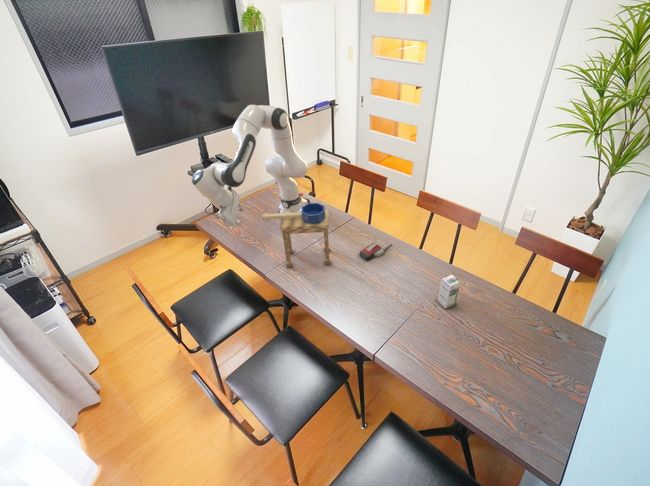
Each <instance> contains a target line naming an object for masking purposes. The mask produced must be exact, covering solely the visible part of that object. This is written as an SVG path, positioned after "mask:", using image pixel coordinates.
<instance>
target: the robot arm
mask: <svg viewBox="0 0 650 486" xmlns="http://www.w3.org/2000/svg"><path fill="white" fill-rule="evenodd" d="M289 118H290V117H289V114H288V112H287V110H285V109H283V108H281V107H276V106H273V105H264V104H248V105H247V106H246V107H245V108H244V109H243V110H242V111H241V113H240V114H239V116H238V117H237V119H236V121H235V122H234V124H233V126H232V130H231V133H232V136H233V139H234V140H235V141H236V142H237V143H238V144H239V147H238V150H237V152H236V154H235V157H234V158H233V160H232V161H231V162H228V163H227V162H220V161H216V162H213V163H211V164H210V165H209V166H207V167H206V168H203V169H198V170H196V171H195V173H193V175H192V178H191V183H192V186H193V187H194V188H195V189H196V190H197V192H198V193H200V194H201V195H202V196H203V197H204V198H206V199H207V201H208V202H210V204H212V205H213V206H214V208H216V209H218V210H219V211H218V217H219V219H220V220H221V222H222V223H223V224H224V225H225V226H226V227H227V228H231V227H233V226H238V227H239V226H241V225H242V222H241V220H238V219H237V216H238V211H239V212H243V211H244V207H243V206H242V204H241V202H240V196H241V195H240V194H239V192H238V191H236V190H235V189H234V188H238V187H240V186H241V185H243V183H244V181H245V179H246V175H247V169H248V166H249V164H250V161H251V159H252V157H253V154H254V152H255V148H256V145H257V137H258V136H259V134H260V131H261V129H266V130H267V129H268V130H270V137H271V144H272V150H273V151H274V152H275V153H276V154H277V155H279V156H277V155H276V156H269V157H268V158H267V159H266V160H265V162H264V169H265V171H266V172H267V173H268V174H269V175H270V176H271V177H272V178H273V179H274V181H275V182H276V183H277V186H278V189H279V193H280V198H279V200H280V202H279V203H280V205H279V206H278V208H279V209H280V210H279V213H282V212H286V211H301V210H302V207H303V206H304V205H306V204H308V203H311V200H310V199H308V198H306V197H303V195H304V193H303V192H299V184H298V183H297V181H296V180H295V179H302V178H305V177H306V175H307V173H308V169H309V167H308V164H307V162H306V161H305V160H303V158H301V157H300V156H299V155H298V153H297V151H296V149H295V146H294V142H293V136H292V129H291V125H290V119H289Z"/></svg>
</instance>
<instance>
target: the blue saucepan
mask: <svg viewBox="0 0 650 486" xmlns="http://www.w3.org/2000/svg"><path fill="white" fill-rule="evenodd" d="M325 209H326V207H325V205H324V204H321V203H320V202H310V203H308V204H306V205H304V206H303V207H302V210H301V212H294V213H280V212H279V213H278V212H277V213H276V212H275V213H263V214H262V218H261V219H262V220H281V219H282V218H301V217H302V219H303V220H304V221H305V222H306V223H309V224H316V223H320V222H322V221H323V220H324V219H325Z"/></svg>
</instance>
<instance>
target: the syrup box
mask: <svg viewBox="0 0 650 486" xmlns="http://www.w3.org/2000/svg"><path fill="white" fill-rule="evenodd" d="M460 285H461V281H460V280H459V279H458V278H457V277H456V276H454V275H453V274H450V275H448V276H445V277H443V278H441V282H440V285H439V291H438V296H437V302H438V303H439V304H440V305H441V306H442V307H443V308H444V309H447V308H450V307H453V306H454V305H456V301H457V297H458V294H459V290H460Z"/></svg>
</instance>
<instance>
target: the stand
mask: <svg viewBox="0 0 650 486" xmlns="http://www.w3.org/2000/svg"><path fill="white" fill-rule="evenodd" d="M328 211H329V210H328V209H326V208H325V219H324V220H323V221H322V222H320V223H316V224H309V223H306V222H305V221H304V220H303V219H302V217H301V218H282V219H280V223H279V224H280V225H279V230H280V231H281V235H282V242H283V247H284V253H285V254H284V255H285V260H286V266H287V268H292V266H293V264H292V258H291V255H292V254H293V252H294V251H293V244H292V236H291V235H297V234H313V233H315V234H316V233H323V240H324V242H323V244H324V256H325V257H324V259H325V266H330V263H331V262H330V245H329V228H330V226H329V225H330V224H329V212H328ZM294 212H301V211H286V212H282V213H294Z"/></svg>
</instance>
